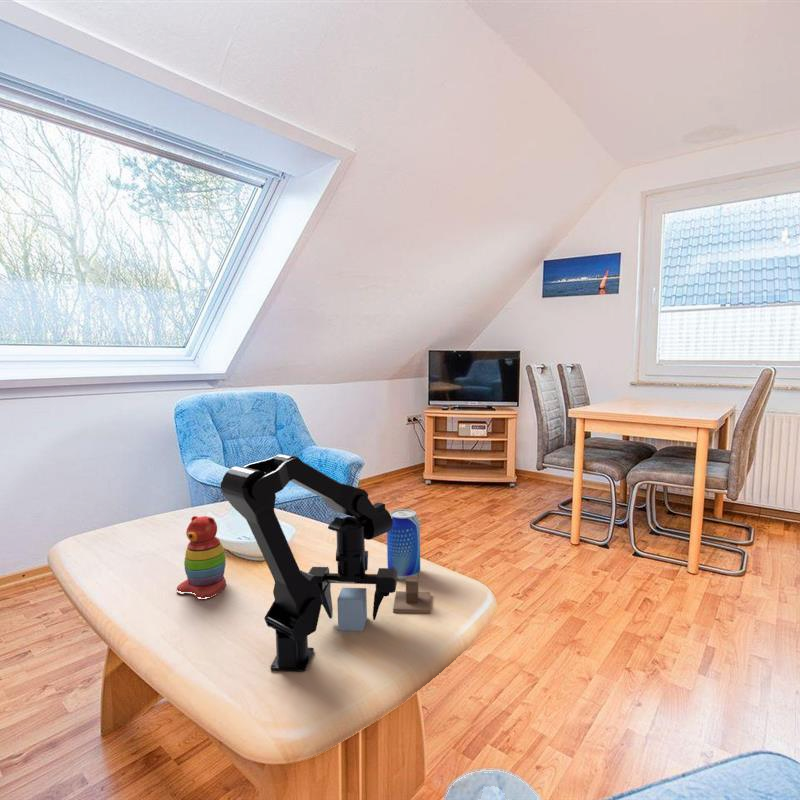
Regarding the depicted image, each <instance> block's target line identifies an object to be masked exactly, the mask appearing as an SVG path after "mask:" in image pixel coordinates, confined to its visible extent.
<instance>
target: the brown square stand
mask: <svg viewBox="0 0 800 800" xmlns="http://www.w3.org/2000/svg"><path fill="white" fill-rule="evenodd" d="M392 613H397V614H398V613H403V614H404V613H405V614H406V613H407V614H409V613H410V614H430V613H431V591H419V575H417V576H407V577H406V580H405V590H404V591H399V590H397V591H395V596H394V603H393V609H392Z"/></svg>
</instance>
